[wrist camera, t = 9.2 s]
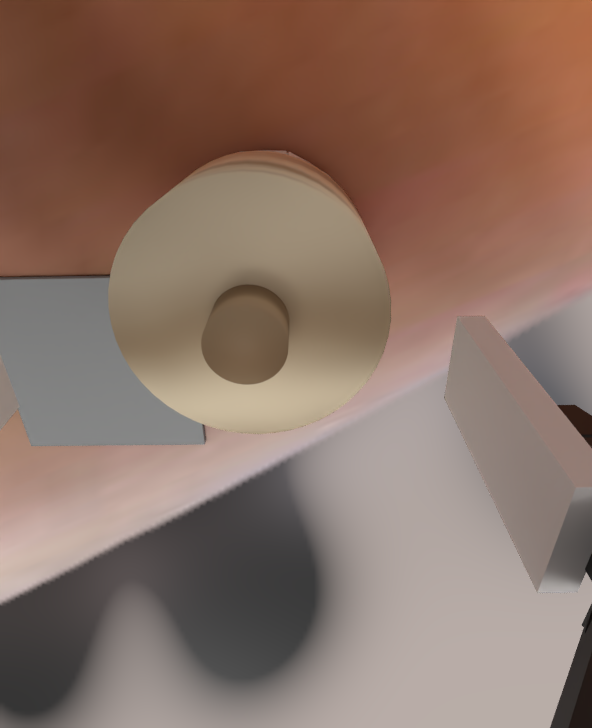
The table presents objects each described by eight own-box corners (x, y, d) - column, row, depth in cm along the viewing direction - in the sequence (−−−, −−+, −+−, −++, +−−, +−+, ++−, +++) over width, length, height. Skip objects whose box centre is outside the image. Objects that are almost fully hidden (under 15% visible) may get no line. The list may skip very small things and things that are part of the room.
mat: (-25, 277, 28) (-29, 280, 28) (182, 274, 28) (181, 276, 28) (34, 442, 34) (31, 446, 34) (205, 440, 34) (204, 444, 34)
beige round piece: (134, 153, 20) (48, 187, 13) (376, 148, 20) (416, 180, 13) (169, 363, 25) (120, 468, 18) (364, 360, 25) (389, 465, 18)
